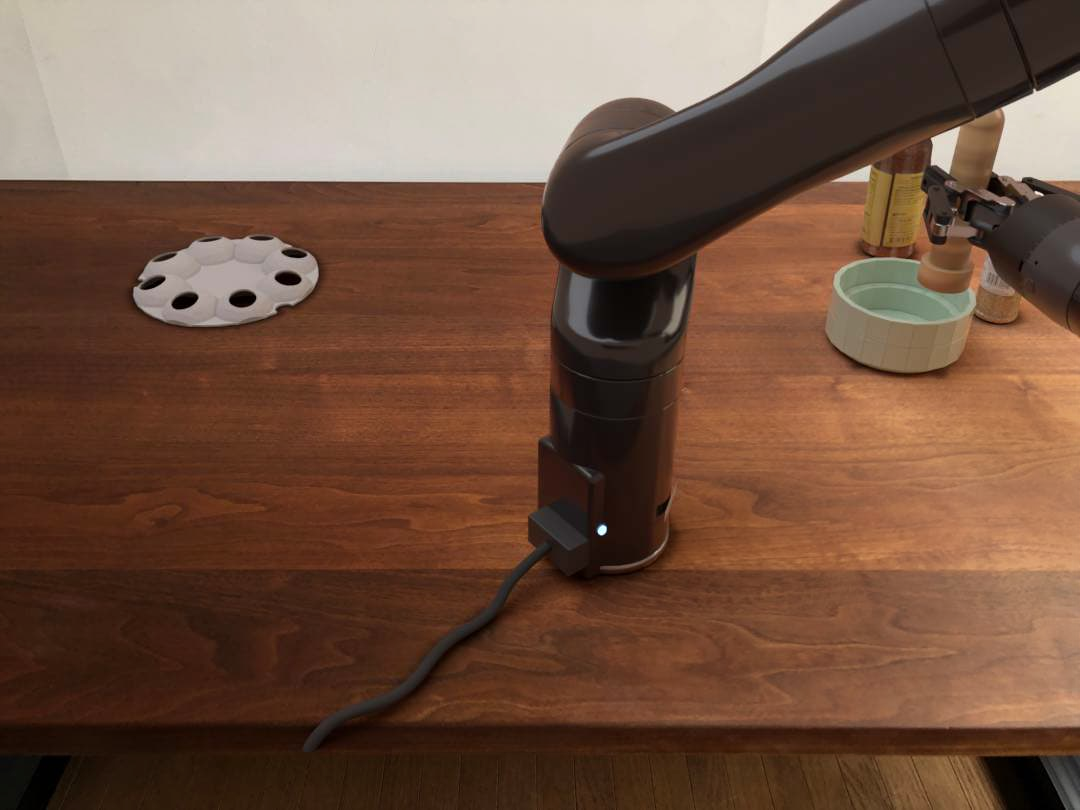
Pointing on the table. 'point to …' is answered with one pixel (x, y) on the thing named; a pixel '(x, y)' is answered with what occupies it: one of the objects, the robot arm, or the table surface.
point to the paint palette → (225, 280)
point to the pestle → (971, 168)
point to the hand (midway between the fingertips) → (948, 174)
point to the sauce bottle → (895, 203)
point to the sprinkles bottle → (996, 295)
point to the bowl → (896, 317)
